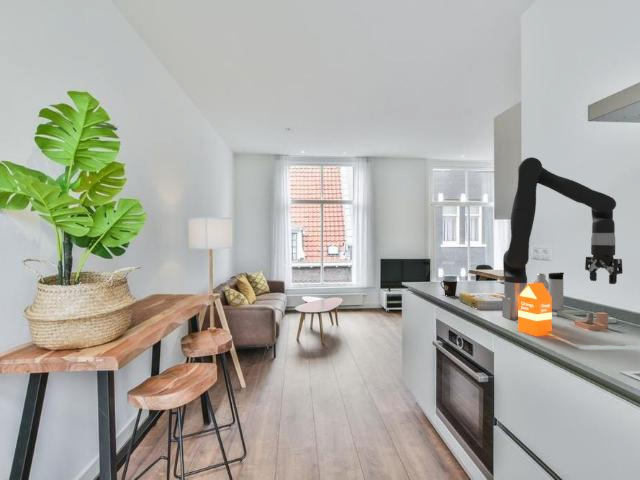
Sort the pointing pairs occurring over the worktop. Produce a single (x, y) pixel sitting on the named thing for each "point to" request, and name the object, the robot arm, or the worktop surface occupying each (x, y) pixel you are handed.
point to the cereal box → (482, 300)
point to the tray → (571, 314)
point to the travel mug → (556, 290)
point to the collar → (598, 325)
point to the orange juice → (535, 310)
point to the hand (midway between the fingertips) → (602, 282)
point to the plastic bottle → (542, 280)
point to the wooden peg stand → (589, 323)
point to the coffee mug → (449, 287)
